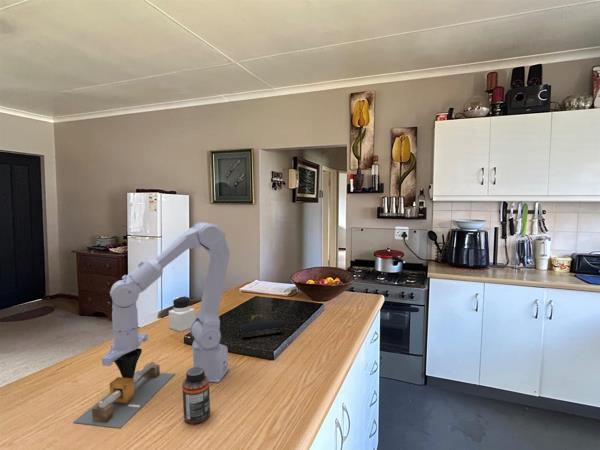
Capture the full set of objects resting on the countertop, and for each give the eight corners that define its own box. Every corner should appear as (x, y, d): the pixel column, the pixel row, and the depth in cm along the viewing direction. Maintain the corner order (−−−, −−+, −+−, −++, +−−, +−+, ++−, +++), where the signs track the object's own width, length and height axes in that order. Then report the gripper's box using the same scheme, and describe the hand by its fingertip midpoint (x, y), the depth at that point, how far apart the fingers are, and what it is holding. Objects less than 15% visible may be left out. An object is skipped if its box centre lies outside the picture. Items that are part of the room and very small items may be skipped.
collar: (134, 395, 85) (133, 378, 84) (126, 402, 82) (125, 385, 81) (118, 394, 85) (118, 377, 85) (110, 401, 83) (109, 383, 82)
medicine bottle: (195, 326, 133) (194, 296, 132) (180, 332, 127) (179, 301, 126) (184, 322, 137) (182, 294, 136) (168, 328, 131) (167, 298, 130)
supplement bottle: (187, 409, 81) (185, 364, 80) (212, 407, 81) (210, 363, 80) (180, 425, 75) (178, 377, 74) (207, 424, 75) (206, 376, 75)
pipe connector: (237, 316, 130) (274, 311, 135) (237, 329, 131) (274, 324, 136) (242, 327, 120) (282, 321, 125) (242, 341, 120) (282, 335, 125)
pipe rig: (175, 374, 97) (174, 360, 96) (120, 428, 74) (119, 410, 74) (137, 371, 99) (136, 357, 98) (73, 422, 76) (72, 405, 76)
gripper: (130, 316, 92) (132, 364, 93) (89, 338, 78) (92, 394, 79) (153, 318, 91) (155, 366, 92) (116, 340, 77) (119, 396, 78)
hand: (128, 379), depth 86 cm, fingers closed
